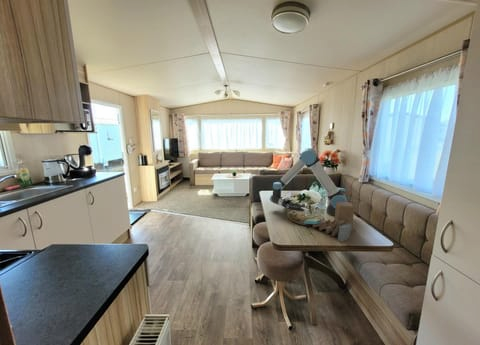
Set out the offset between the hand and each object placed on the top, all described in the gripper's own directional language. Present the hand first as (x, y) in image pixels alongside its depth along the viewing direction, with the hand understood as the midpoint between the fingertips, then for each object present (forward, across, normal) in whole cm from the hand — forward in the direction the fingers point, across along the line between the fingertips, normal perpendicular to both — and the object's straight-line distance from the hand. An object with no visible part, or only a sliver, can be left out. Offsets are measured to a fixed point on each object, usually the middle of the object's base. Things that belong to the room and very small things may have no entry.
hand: (307, 211), depth 162 cm
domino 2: (+7, 0, -9) cm, 12 cm away
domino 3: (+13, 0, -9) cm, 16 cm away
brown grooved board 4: (+18, 0, -9) cm, 20 cm away
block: (+22, -12, -10) cm, 27 cm away
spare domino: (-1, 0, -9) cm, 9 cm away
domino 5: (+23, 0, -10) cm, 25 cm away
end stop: (+29, 0, -10) cm, 31 cm away
